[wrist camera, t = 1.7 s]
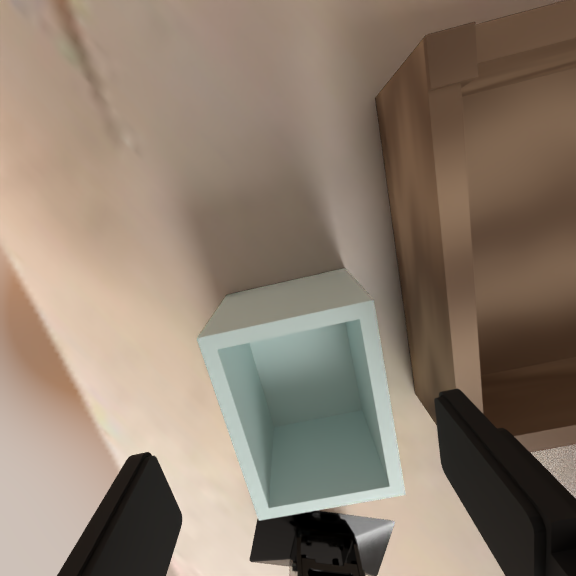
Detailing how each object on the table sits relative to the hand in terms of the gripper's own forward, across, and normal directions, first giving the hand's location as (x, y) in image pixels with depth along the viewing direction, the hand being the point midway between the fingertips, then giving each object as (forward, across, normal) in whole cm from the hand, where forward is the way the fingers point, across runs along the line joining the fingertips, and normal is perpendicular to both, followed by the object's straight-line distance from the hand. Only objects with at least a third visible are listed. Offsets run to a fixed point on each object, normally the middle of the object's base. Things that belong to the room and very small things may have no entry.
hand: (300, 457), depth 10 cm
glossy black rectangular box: (+8, +1, +15) cm, 17 cm away
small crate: (+7, 0, +1) cm, 8 cm away
